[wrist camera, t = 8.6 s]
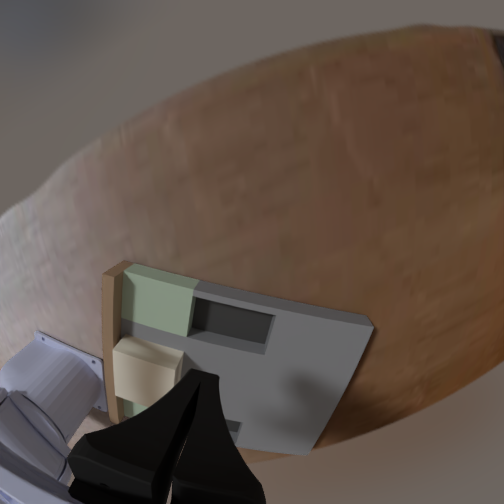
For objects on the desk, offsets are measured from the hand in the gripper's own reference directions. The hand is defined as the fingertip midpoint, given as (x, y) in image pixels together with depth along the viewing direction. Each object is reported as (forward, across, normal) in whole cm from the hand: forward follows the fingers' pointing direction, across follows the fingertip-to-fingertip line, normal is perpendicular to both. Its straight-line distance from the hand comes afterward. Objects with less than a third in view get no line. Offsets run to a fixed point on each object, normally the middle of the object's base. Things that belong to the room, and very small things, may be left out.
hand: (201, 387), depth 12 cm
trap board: (+10, -1, +7) cm, 13 cm away
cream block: (+8, +5, +7) cm, 12 cm away
